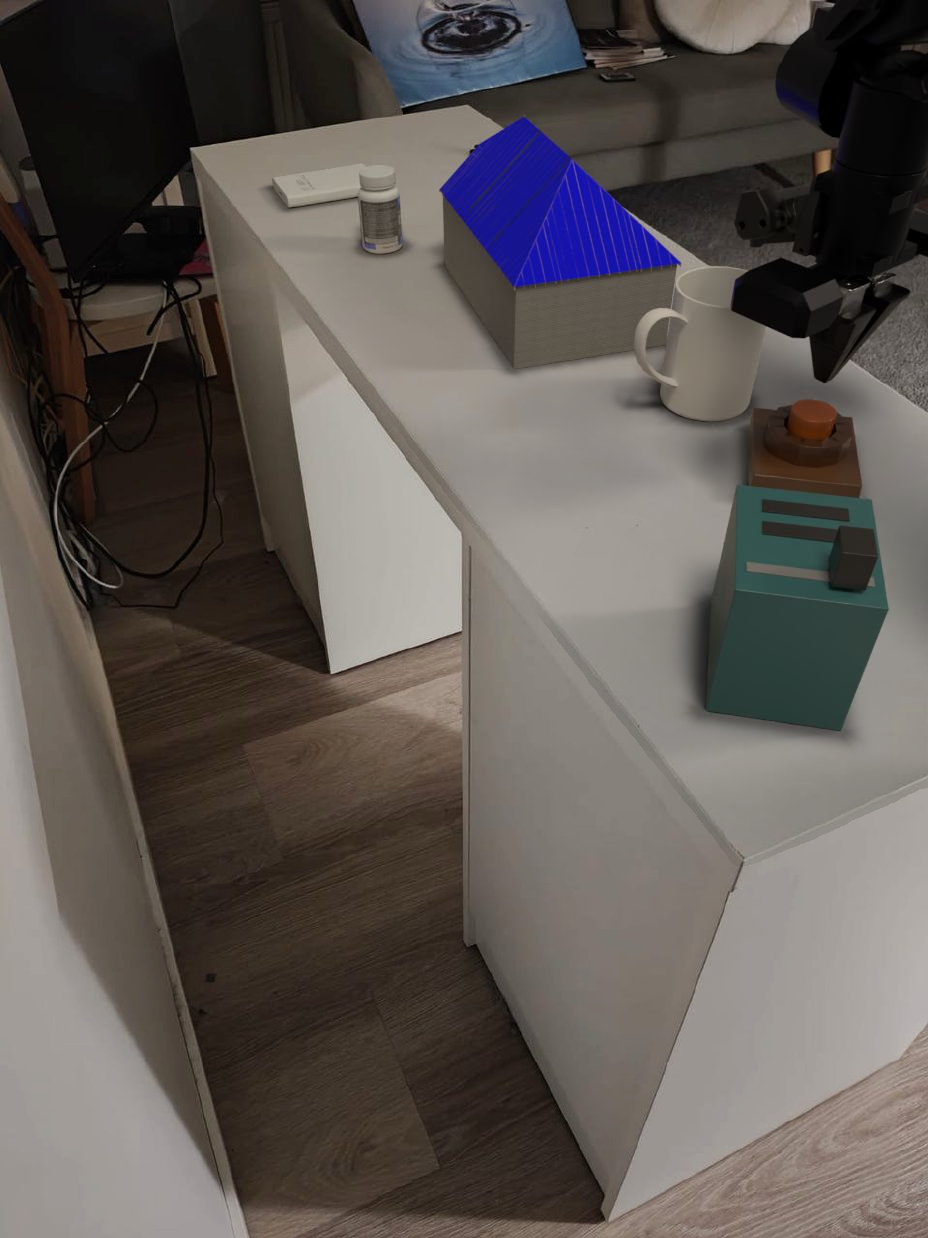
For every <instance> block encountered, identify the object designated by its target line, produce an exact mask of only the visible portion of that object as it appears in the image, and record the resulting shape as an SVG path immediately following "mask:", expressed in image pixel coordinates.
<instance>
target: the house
mask: <svg viewBox="0 0 928 1238" xmlns="http://www.w3.org/2000/svg"><path fill="white" fill-rule="evenodd" d="M438 191H439V193H441V195H442V216H443V217H442V219H443V221H442V223H443V224H442V226H443V254H444V255H443V256H444V257H443V258H444V259H443V261H444V267H445V268H446V270H447V271H448V273H449V274H450V276H451V277H452V279H453V281H454V282H455V283H456V285H457V286H458V288H459V289H460V291H461V293H463V295H464V297H465V298H466V300H467V301H468V303H469V305H470V306H471V308H472V309H473V310H474V312H475V313H476V315H477V316H478V318H479V320H481V322H482V324H483V325H484V326H485V328H486V329H487V331H488V332H489V334H490V336H491V337H492V338H493V340H494V341H495V343H496V344H497V346H498V347H499V349H500V350H501V352H502V353H503V355H504V356H505V358H506V359H507V361H508V362H509V364H510V365H511V367H512V368H513V370H517V369H522V368H529V367H536V366H542V365H547V364H548V365H549V364H554V363H560V362H567V361H574V360H580V359H585V358H592V357H598V356H604V355H610V354H617V353H622V352H623V353H624V352H629V351H630V352H631V351H635V349H634V337H635V331H636V328H637V325H638V323H639V322H640V320H641V318H642V317H643V316H644V315H645V314H646V313H648V312H649V311H651V310H653V309H657V308H668V309H672V303H673V296H674V289H675V282H676V275H677V268H678V266H679V267H682V262H681V260H679V259H678V258H677V257H676V256H675V255H674V254H673V253H672V252H671V251H670V250H668V249H667V247H665V246H664V245H663V243H661V242H660V241H659V240H658V239H657V238H656V237H655V236H654V235H653V234H652V233H651V232H650V231H649V230H647V228H646V227H644V225H642V223H640V222H639V221H638V220H637V219H636V218H635V217H634V216H633V215H632V214H630V212H629V211H628V210H627V209H625V208H624V206H622V205H621V204H620V203H619V202H618V201H617V200H616V199H615V198H614V197H613V196H612V195H611V194H610V193H609V192H608V191H607V190H606V189H604V187H602V185H600V184H599V183H598V182H597V181H596V180H595V179H594V178H593V177H592V176H591V175H590V174H589V173H588V172H587V171H585V169H583V168H582V167H581V165H579V164H578V163H577V161H575V160H574V158H572V157H571V156H570V155H568V153H566V152H565V151H564V150H563V149H561V148H560V146H558V145H557V144H556V143H555V142H554V141H553V140H551V139H550V137H548V136H547V135H546V134H545V133H543V131H541V130H540V129H539V128H538V127H537V126H536V125H535V124H534V123H532V122H531V121H530V120H529V119H528V118H527V117H526V114H524V115H523V116H521V117H520V118H519V119H517V120H516V121H514V122H512V123H511V124H509V125H507V126H506V127H504V128H503V129H501V130H499V131H498V132H496V133H495V134H493V135H492V136H489V137H488V138H486V139H485V140H484V141H483V140H482V142H480V143H479V144H477V146H476V147H474V150H472V152H471V153H470V154H469V155H468V156H467V157H466V159H464V161H463V162H462V163H461V164H460V165H459V166H458V167H457V169H456V170H455V171H454V172H453V173H452V174H451V176H450V177H448V179H447V180H446V181H445V182H444V183H443V185H442V186H440V188H439V189H438ZM669 324H670V318H662V319H660V320H658V321H657V322H656V323H655V324H654V325H653V326H652V327H651V329H650V330H649V332H648V335H647V339H646V347H645V348H646V349H649V348H654V347H655V348H656V347H660V346H667V338H668V331H669Z"/></svg>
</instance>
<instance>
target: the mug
mask: <svg viewBox="0 0 928 1238" xmlns="http://www.w3.org/2000/svg"><path fill="white" fill-rule="evenodd" d="M747 271H748V270H747V269H743V268H739V267H733V266H722V265H721V266H720V265H711V266H710V265H709V266H702V267H697V268H692V269H690V270H687V271H684V272H683V273H682V274H680V275H679V276H677V278H676V279H675V283H674V290H673V297H672V304H671V309H668V308H657V309H653V310H651V311H649V312H648V313H646V314H645V315H644V316H643V317H642V318H641V320H640V322H639V323H638V325H637V328H636V331H635V337H634V349H635V350H634V354H635V358H636V361H637V363H638V365H639V367H640V368H641V370H642V371H644V373H645V374H647V375H648V377H650V378H651V379H653V380H654V381H656V382H658V383H659V384H660V389H659V397H660V399H661V401H662V404H663V405H664V406H665V407H666V408H667V409H668V410H670V411H671V412H673V413H675V414H676V415H678V416H681V417H684V418H687V419H690V420H694V421H695V420H696V421H700V422H701V421H702V422H721V421H726V420H730V419H733V418H736V417H738V416H740V415H742V414H743V413H744V412H745V411H746V410H747V409H748V407H749V405H750V403H751V399H752V394H753V389H754V384H755V381H756V375H757V371H758V367H759V361H760V357H761V351H762V347H763V344H764V343H763V342H764V339H765V333H766V329H767V327H766V326H764V325H762V324H760V323H757V322H755V321H753V320H751V319H748V318H746V317H744V316H742V315H739V314H737V313H735V312H733V311H731V306H730V305H731V300H732V294H733V289H734V283H735V279H737V278H738V277H740V276H741V275H743V274H744V273H746V272H747ZM662 318H669V325H668V333H667V340H666V345H665V347H666V348H665V352H664V353H665V354H664V361H663V368H662V374H661V373H660V372H658V371H657V370H655V369H654V368H653V367H652V366H651V364H650V363H649V361H648V357H647V351H646V350H647V348H645V347H646V339H647V335H648V332H649V330H650V329H651V327H652V326H653V325H654V324H655V323H656V322H657V321H658V320H660V319H662Z"/></svg>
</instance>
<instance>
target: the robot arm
mask: <svg viewBox="0 0 928 1238" xmlns="http://www.w3.org/2000/svg"><path fill="white" fill-rule="evenodd" d="M921 45H922V46H923V45H928V0H836V1H835V3H834V4H833V6H825V7H824V6H823V7H817V8H816V9H815V12H814V15H813V21H812V26H811V27H810V28H808V29H807V30H806V31H804V32H803V33H802V34H800V35H799V36H798V37H797V38H796V39H795V40H794V41H793V42H792V43H791V45H790V46H789V47H788V48H787V50H786V51H785V53H784V55H783V57H782V60H781V62H780V63H778V65H777V68H776V73H775V83H774V88H775V93H776V97H777V101H778V102H779V104H780V105H781V106H782V107H783V109H784V110H785V111H787V112H788V113H790V114H792V115H794V116H795V117H797V118H798V119H801V120H802V121H803V122H805V123H807V124H809V125H810V126H812V127H814V128H816V129H817V130H819V131H820V132H822V133H824V134H825V135H827V136H829V137H831V138H835V139H838V142H837V147H836V151H835V156H834V161H833V164H832V168H831V169H828V170H825V171H821V172H819V173H817V175H816V176H815V177H813V179H812V181H811V183H810V184H806V185H797V186H791V187H785V188H781V189H777V188H776V186H775V185H769V186H766V187H763V188H761V187H754V188H751V189H749V190H746V191H743V192H741V194H740V199H739V202H738V205H737V208H736V211H735V219H734V223H733V225H734V227H735V229H736V234H737V236H738V237H739V238H740V239H741V240H743V241H749V247H750V248H752V249H753V248H761V247H763V246H764V245H770V244H771V245H772V244H786V243H787V244H788V243H793V246H792V249H791V252H792V253H795V254H798V255H799V256H803V257H805V258H806V257H809V256H811V257H814V258H815V260H814V263H815V264H813V265H810V266H808V267H807V266H804V265H801V264H799V263H797V262H794V261H791V260H789V259H786V258H784V257H779V258H776V259H774V260H771V261H769V262H766V263H763V264H762V265H758V266H757V267H756V266H755V267H754V268H751V269H749V270H747V272H746V273H744V274H743V275H741V276H740V277H738V278H737V279H735V283H734V289H733V294H732V300H731V305H730V306H731V311H733V312H735V313H737V314H739V315H742V316H744V317H746V318H748V319H751V320H753V321H755V322H757V323H760V324H762V325H764V326H766V328H768V329H770V330H772V331H775V332H778V333H780V334H782V335H784V336H786V337H789V338H791V339H803V340H804V339H807V338H808V339H809V347H810V356H811V363H812V372H813V377H814V379H815V381H819V382H820V383H822V384H827V383H830V382H831V381H832V380H834V379H835V378H836V376H837V375H838V374H839V373H840V372H841V371H842V369H843V368H844V367H845V366H846V365H847V364H848V362H849V361H850V360H852V358H853V356H855V354H856V353H857V352H858V351H859V350H860V348H861V347H862V346H863V345H864V344H865V343H866V342H867V340H868V339H869V338H870V337H871V336H872V335H873V334H874V332H876V330H877V329H878V328H879V327H880V326H881V325H882V324H883V323H884V322H885V321H886V319H888V318H889V316H890V315H891V314H892V313H893V312H894V311H895V310H896V309H897V308H898V306H899V305H900V304H901V303H903V301H905V300H907V299H908V298H909V296H910V295H911V290H910V289H909V288H907V287H906V286H902V285H899V284H897V283H895V281H896V278H897V273H894V270H895V269H897V268H898V267H901V266H903V265H906V264H908V263H909V262H910V263H911V262H912V261H914V260H916V259H919V258H920V256H923V257H926V258H928V213H926V212H922V211H920V210H917V207H918V203H921V202H923V201H926V200H928V177H927V173H928V51H927V52H926V53H924V52H922V51H920V50H916V49H903V50H902V48H903V47H908V46H909V47H910V46H921Z"/></svg>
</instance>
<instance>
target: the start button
mask: <svg viewBox="0 0 928 1238" xmlns="http://www.w3.org/2000/svg"><path fill="white" fill-rule="evenodd" d="M791 405H792V407H791V411H790V415H789V419H788V423H787V429H788V430H789V431H790V432H791V433H792V434H795V435H798V436H800V437H803V438H808V439H823V438H828V437H829V436H830V435H831V433H832V430H833V426H834V423H835V419H836V416H837V413H838V412H837V410H836V408H835V407H833V406H832V405H831V404H830V403H827V402H825V401H823V400H819V399H811V398H810V399H809V398H808V399H807V398H806V399H805V398H804V399H799V400H797V401H795V402H793V404H791Z"/></svg>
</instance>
